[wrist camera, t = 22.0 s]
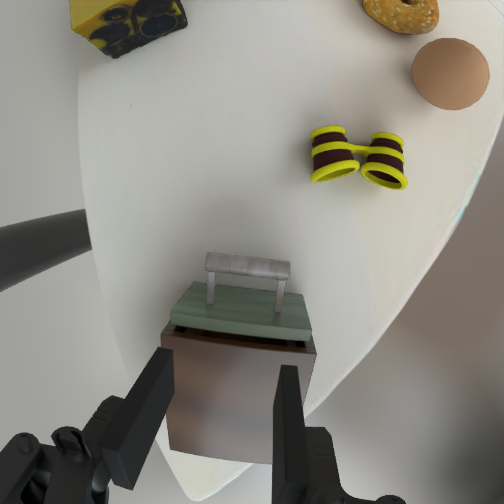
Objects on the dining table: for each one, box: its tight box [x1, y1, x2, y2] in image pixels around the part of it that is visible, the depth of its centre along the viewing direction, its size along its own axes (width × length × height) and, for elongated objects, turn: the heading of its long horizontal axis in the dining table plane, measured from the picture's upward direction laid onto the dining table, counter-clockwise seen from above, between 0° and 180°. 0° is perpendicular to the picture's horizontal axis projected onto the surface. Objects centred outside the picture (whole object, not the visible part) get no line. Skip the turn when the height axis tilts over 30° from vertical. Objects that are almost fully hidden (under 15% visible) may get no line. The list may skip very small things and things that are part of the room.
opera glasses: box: [310, 126, 408, 190], centre depth 26 cm, size 10×5×5 cm, turn 88°
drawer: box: [171, 252, 312, 347], centre depth 28 cm, size 19×12×8 cm, turn 174°
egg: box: [412, 38, 490, 110], centre depth 20 cm, size 8×8×11 cm
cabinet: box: [161, 320, 317, 464], centre depth 29 cm, size 16×13×10 cm
